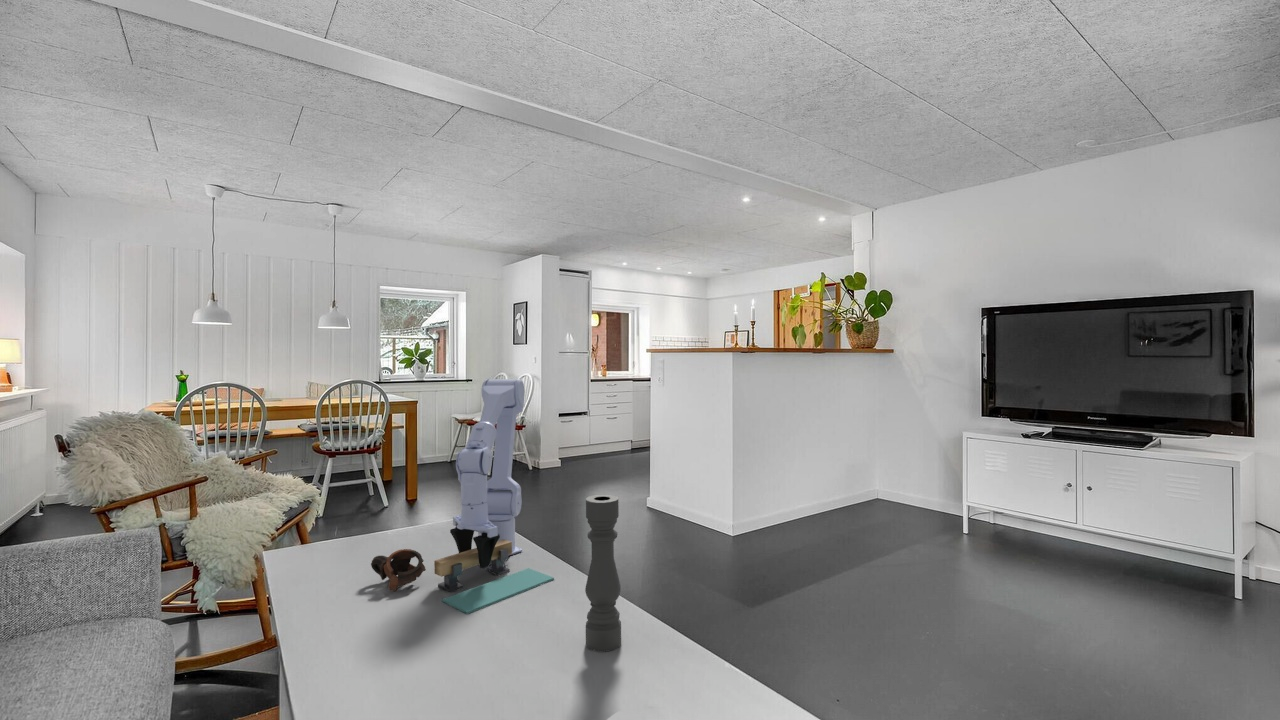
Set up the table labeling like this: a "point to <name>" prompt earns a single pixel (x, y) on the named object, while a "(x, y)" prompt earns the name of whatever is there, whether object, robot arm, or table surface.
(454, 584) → the hook standards
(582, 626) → the table surface
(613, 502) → the candle holder
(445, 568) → the oak bar
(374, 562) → the pottery mug
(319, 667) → the table surface
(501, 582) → the teal mat
